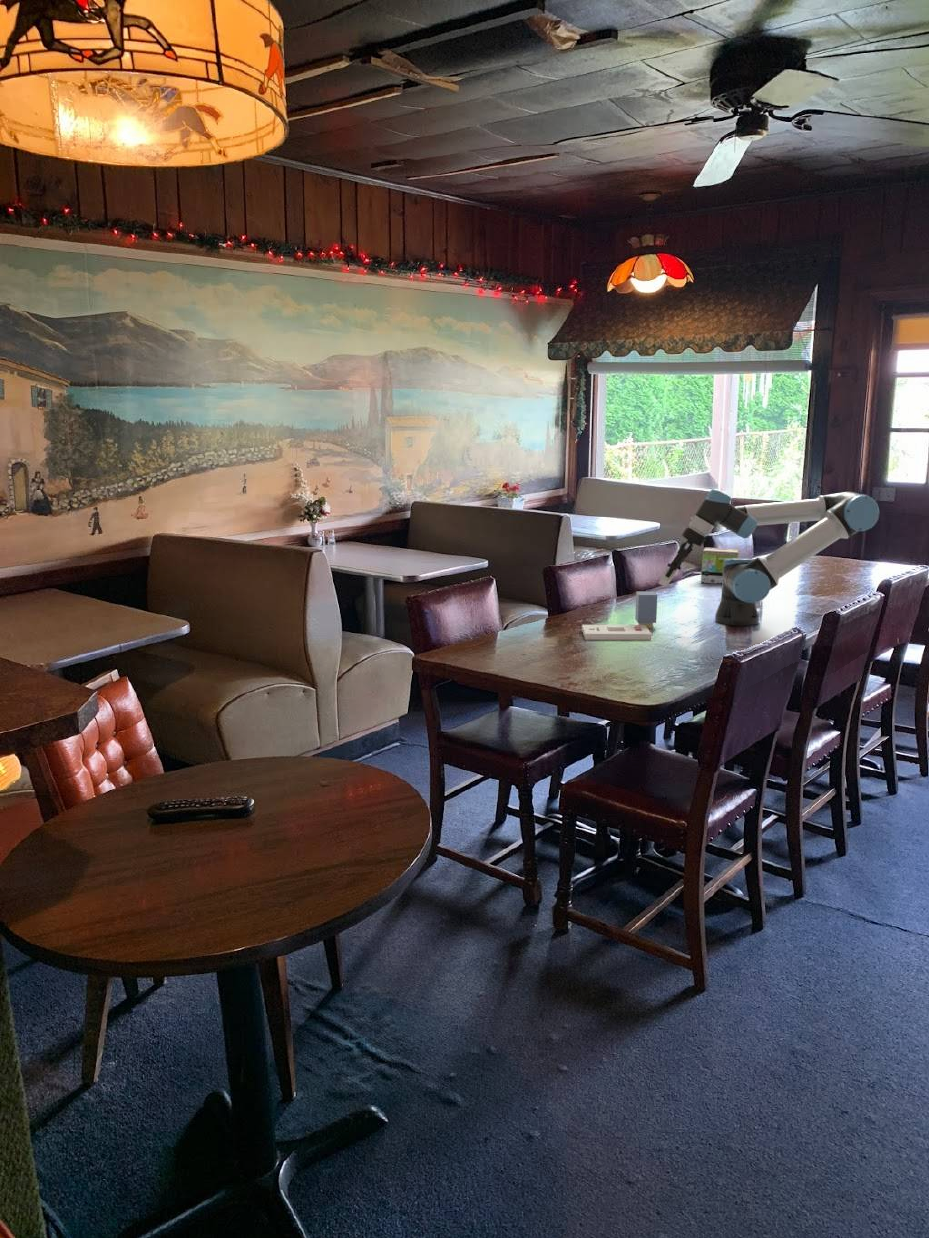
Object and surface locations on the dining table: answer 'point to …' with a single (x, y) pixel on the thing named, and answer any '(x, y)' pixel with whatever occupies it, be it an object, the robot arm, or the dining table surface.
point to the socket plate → (616, 632)
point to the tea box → (715, 563)
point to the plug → (646, 608)
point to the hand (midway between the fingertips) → (663, 584)
